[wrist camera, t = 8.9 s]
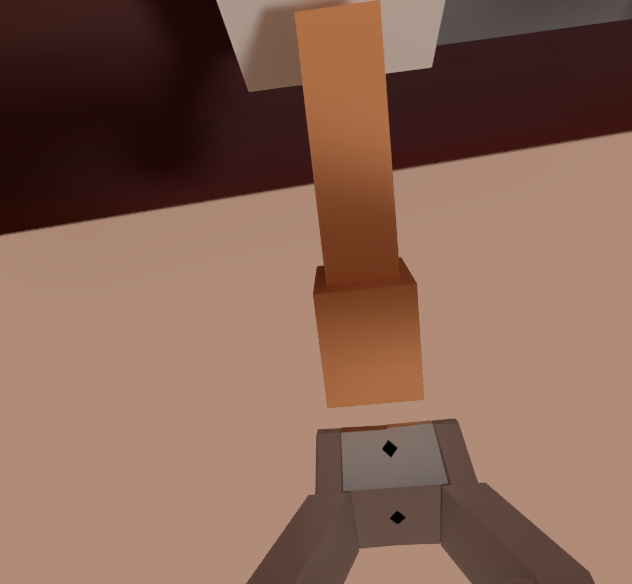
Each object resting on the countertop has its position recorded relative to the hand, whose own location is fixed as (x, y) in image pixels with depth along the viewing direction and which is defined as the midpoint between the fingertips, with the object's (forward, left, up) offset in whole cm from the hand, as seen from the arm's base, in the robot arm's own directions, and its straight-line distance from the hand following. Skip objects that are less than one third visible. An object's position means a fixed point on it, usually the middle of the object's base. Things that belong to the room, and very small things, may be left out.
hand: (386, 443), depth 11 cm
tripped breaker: (0, 0, -13) cm, 13 cm away
